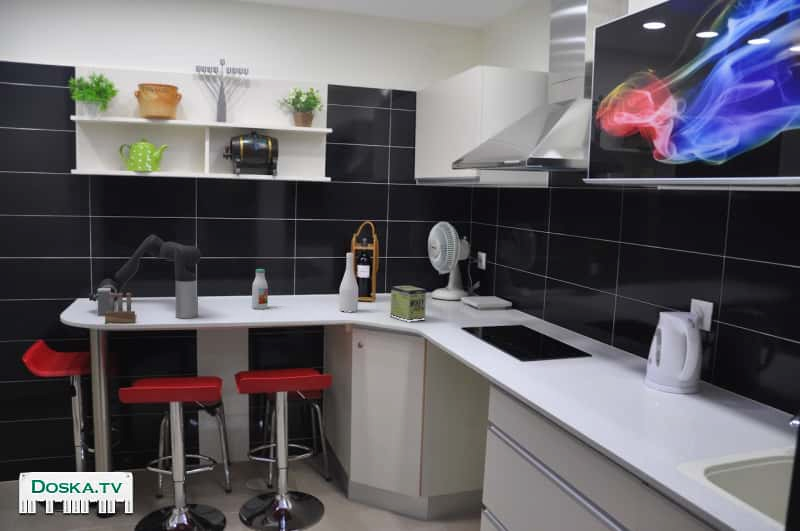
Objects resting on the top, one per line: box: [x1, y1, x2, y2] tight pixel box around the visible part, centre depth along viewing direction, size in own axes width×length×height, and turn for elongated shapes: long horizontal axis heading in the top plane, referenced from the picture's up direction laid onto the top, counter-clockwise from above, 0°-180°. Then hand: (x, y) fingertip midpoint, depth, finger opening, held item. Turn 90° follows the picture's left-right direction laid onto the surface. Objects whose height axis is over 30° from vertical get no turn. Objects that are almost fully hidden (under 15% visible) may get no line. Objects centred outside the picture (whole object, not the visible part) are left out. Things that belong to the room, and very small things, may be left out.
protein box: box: [389, 285, 427, 320], centre depth 322 cm, size 10×16×16 cm
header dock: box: [104, 292, 137, 325], centre depth 295 cm, size 16×12×13 cm
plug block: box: [97, 287, 111, 317], centre depth 304 cm, size 5×5×12 cm
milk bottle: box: [251, 268, 269, 310], centre depth 334 cm, size 8×8×20 cm
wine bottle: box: [338, 252, 359, 313], centre depth 334 cm, size 10×10×30 cm
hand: (104, 299), depth 306 cm, fingers open, 8 cm apart
